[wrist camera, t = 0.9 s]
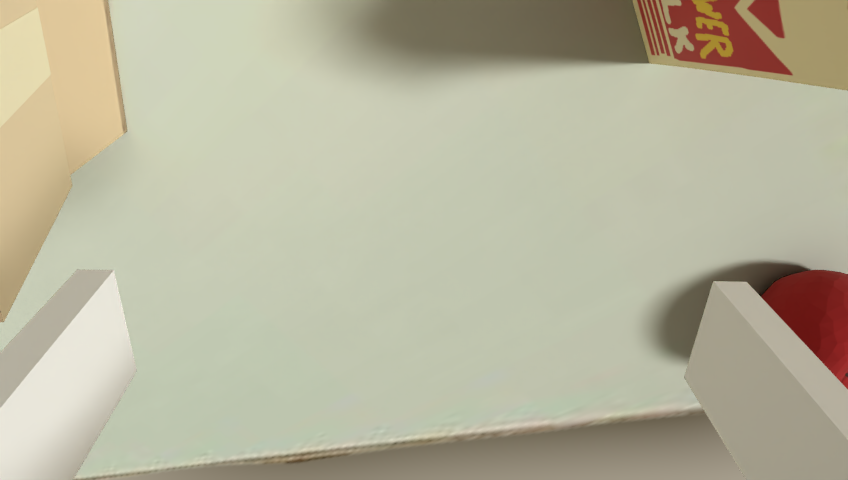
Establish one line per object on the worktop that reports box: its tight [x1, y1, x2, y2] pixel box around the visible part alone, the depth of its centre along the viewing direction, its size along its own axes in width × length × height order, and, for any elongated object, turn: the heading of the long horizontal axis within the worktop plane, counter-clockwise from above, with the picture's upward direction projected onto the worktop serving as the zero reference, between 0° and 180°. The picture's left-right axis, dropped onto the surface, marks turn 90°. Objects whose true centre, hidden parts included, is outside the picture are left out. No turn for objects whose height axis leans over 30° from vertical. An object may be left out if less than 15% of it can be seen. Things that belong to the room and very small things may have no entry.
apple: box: [761, 270, 848, 389], centre depth 42 cm, size 9×9×10 cm
